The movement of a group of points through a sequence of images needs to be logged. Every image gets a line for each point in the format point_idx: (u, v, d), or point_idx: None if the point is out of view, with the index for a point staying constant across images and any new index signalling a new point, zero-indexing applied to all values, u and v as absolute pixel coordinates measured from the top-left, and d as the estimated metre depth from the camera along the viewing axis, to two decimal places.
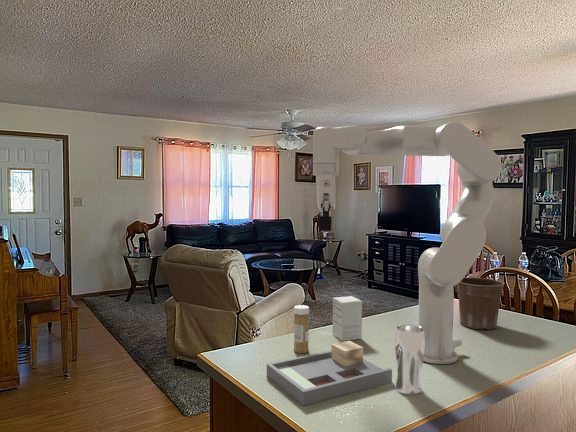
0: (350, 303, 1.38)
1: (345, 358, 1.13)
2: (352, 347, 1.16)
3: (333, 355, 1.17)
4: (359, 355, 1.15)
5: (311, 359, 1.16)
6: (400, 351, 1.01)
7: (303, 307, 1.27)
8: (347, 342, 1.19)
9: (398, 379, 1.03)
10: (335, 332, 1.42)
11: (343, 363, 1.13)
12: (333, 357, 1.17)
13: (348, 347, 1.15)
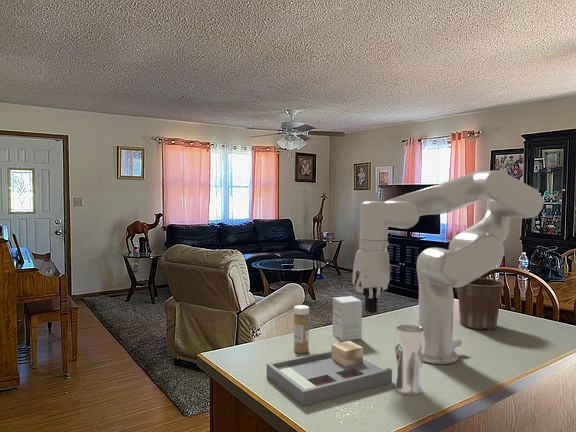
0: (350, 303, 1.38)
1: (345, 358, 1.13)
2: (352, 347, 1.16)
3: (333, 355, 1.17)
4: (359, 355, 1.15)
5: (311, 359, 1.16)
6: (400, 351, 1.01)
7: (303, 307, 1.27)
8: (347, 342, 1.19)
9: (398, 379, 1.03)
10: (335, 332, 1.42)
11: (343, 363, 1.13)
12: (333, 357, 1.17)
13: (348, 347, 1.15)
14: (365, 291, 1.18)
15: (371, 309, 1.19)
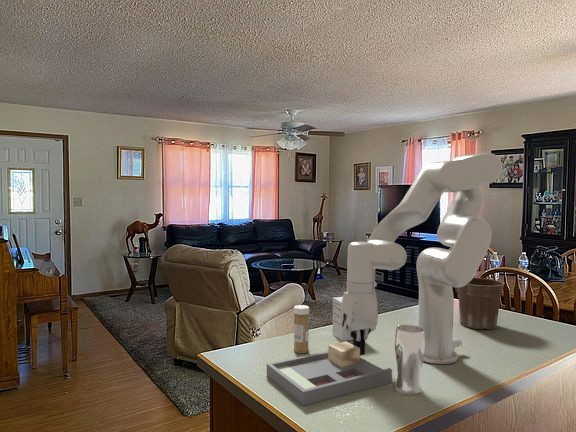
0: None
1: (342, 359, 1.12)
2: (348, 347, 1.15)
3: (330, 356, 1.17)
4: (356, 356, 1.14)
5: (311, 359, 1.16)
6: (400, 351, 1.01)
7: (303, 307, 1.27)
8: (344, 343, 1.19)
9: (398, 379, 1.03)
10: (335, 332, 1.42)
11: (340, 364, 1.13)
12: (330, 358, 1.17)
13: (345, 348, 1.15)
14: (352, 334, 1.16)
15: None
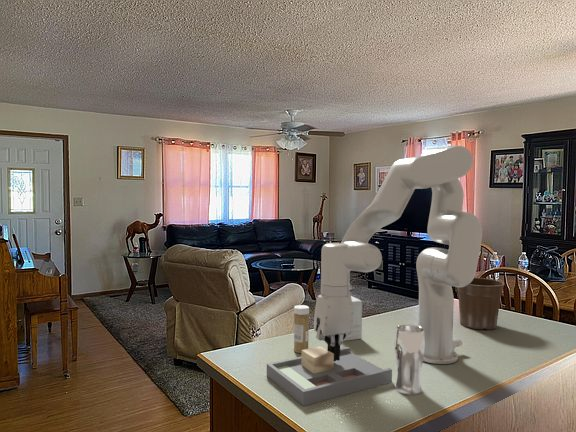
0: None
1: (314, 365, 1.08)
2: (322, 353, 1.11)
3: (303, 362, 1.12)
4: (329, 362, 1.10)
5: None
6: (400, 351, 1.01)
7: (303, 307, 1.27)
8: (318, 348, 1.15)
9: (398, 379, 1.03)
10: None
11: (312, 370, 1.09)
12: (303, 363, 1.12)
13: (318, 354, 1.10)
14: (326, 339, 1.12)
15: None
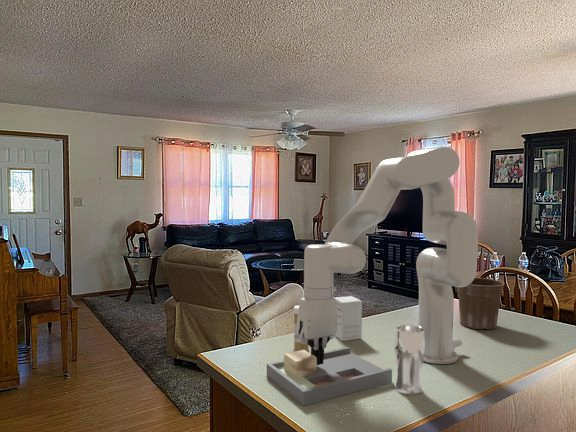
0: (350, 303, 1.38)
1: (296, 369, 1.05)
2: (305, 357, 1.08)
3: (285, 366, 1.10)
4: (312, 365, 1.08)
5: None
6: (400, 351, 1.01)
7: None
8: (301, 351, 1.12)
9: (398, 379, 1.03)
10: None
11: (294, 374, 1.06)
12: (285, 367, 1.10)
13: (300, 357, 1.08)
14: (310, 342, 1.10)
15: (317, 361, 1.11)
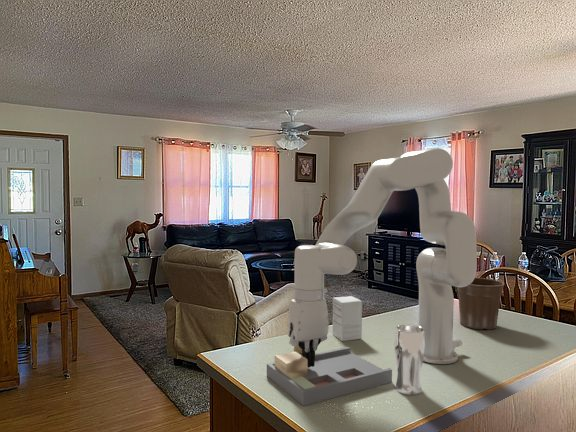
0: (350, 303, 1.38)
1: (286, 371, 1.04)
2: (295, 358, 1.07)
3: None
4: (303, 367, 1.06)
5: None
6: (400, 351, 1.01)
7: None
8: (292, 353, 1.11)
9: (398, 379, 1.03)
10: (335, 332, 1.42)
11: None
12: None
13: (291, 359, 1.06)
14: (300, 344, 1.08)
15: (308, 363, 1.09)
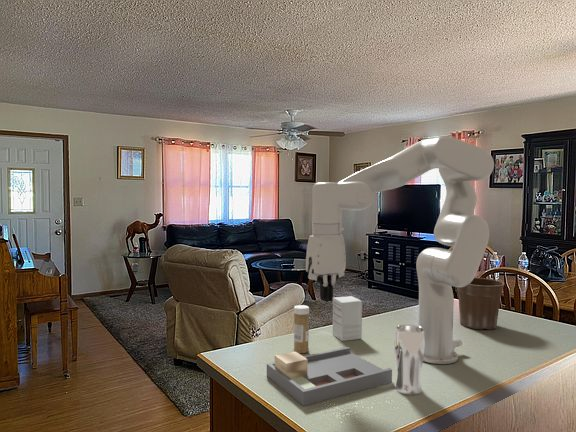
0: (350, 303, 1.38)
1: (286, 371, 1.04)
2: (295, 358, 1.07)
3: None
4: (303, 367, 1.06)
5: (311, 359, 1.16)
6: (400, 351, 1.01)
7: (303, 307, 1.27)
8: (292, 353, 1.11)
9: (398, 379, 1.03)
10: (335, 332, 1.42)
11: None
12: None
13: (291, 359, 1.06)
14: (319, 278, 1.10)
15: (326, 298, 1.11)
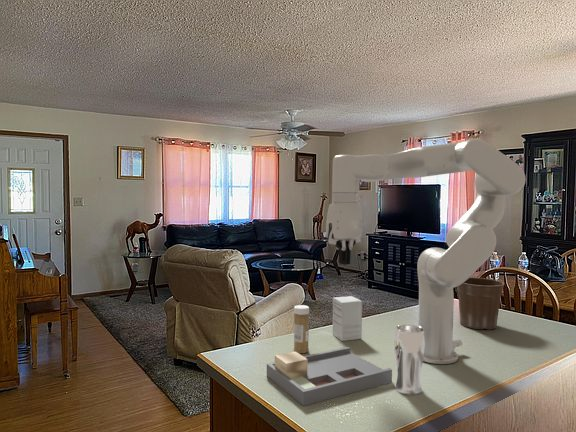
0: (350, 303, 1.38)
1: (286, 371, 1.04)
2: (295, 358, 1.07)
3: None
4: (303, 367, 1.06)
5: (311, 359, 1.16)
6: (400, 351, 1.01)
7: (303, 307, 1.27)
8: (292, 353, 1.11)
9: (398, 379, 1.03)
10: (335, 332, 1.42)
11: None
12: None
13: (291, 359, 1.06)
14: (338, 243, 1.20)
15: (344, 261, 1.21)
